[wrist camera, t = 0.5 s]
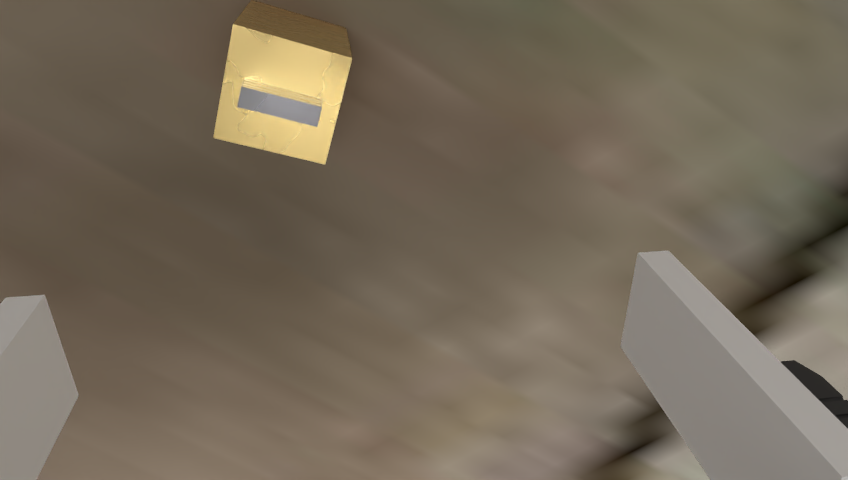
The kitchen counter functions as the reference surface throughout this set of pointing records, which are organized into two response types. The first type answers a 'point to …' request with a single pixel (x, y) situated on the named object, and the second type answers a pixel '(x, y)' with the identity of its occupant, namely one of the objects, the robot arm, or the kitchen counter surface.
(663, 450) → the kitchen counter surface
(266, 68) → the tan rectangular block
